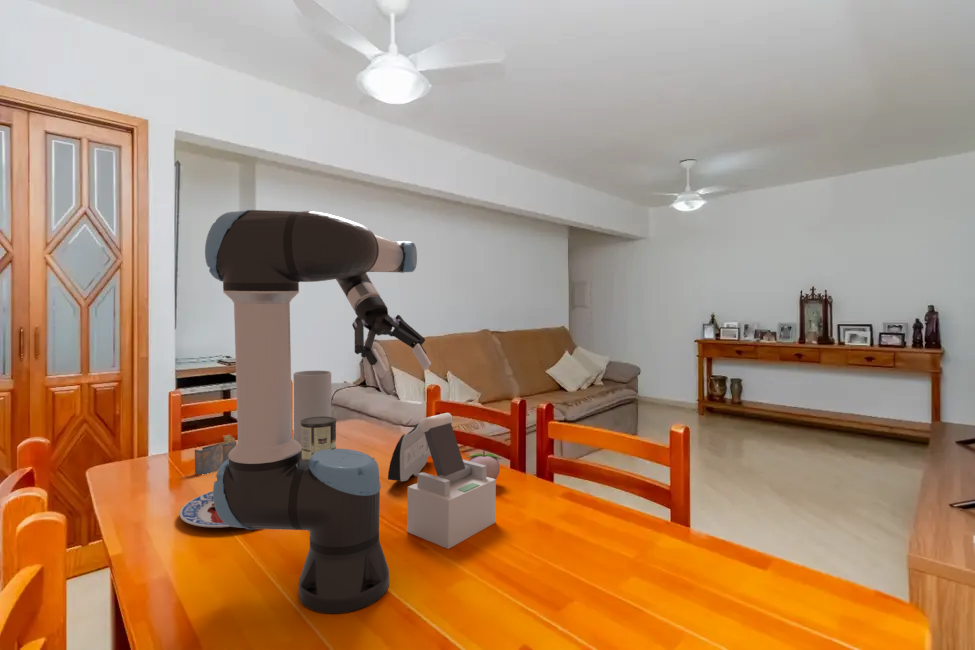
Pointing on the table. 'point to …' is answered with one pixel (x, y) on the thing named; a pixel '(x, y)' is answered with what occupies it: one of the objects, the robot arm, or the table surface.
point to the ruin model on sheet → (213, 456)
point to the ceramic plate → (202, 512)
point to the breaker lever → (444, 447)
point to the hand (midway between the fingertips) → (406, 370)
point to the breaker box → (451, 506)
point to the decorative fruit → (487, 463)
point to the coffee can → (317, 435)
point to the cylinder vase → (311, 397)
